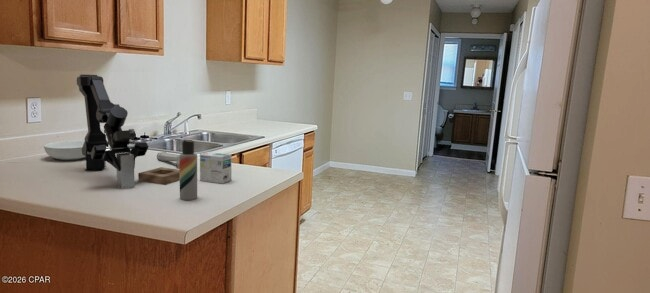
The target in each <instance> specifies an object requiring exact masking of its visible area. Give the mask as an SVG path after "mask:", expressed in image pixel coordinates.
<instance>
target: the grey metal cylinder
mask: <svg viewBox="0 0 650 293" xmlns="http://www.w3.org/2000/svg"><path fill="white" fill-rule="evenodd" d="M179 155H180V154H177V153H176V154H175V153H170V152H167V151H162V152H158V153H157V155H156V159H157V160H158V161H161V162H175V164H176V167H177V169H179Z"/></svg>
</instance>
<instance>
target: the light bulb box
mask: <svg viewBox="0 0 650 293" xmlns="http://www.w3.org/2000/svg"><path fill="white" fill-rule="evenodd" d="M199 181H200V182H201V181H202V182H209V183H216V184H223V185H224V183H227V182H231V181H232V154H230V153H229V154H228V153H221V152H211V151H208V152H204V153H200V154H199Z"/></svg>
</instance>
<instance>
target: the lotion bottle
mask: <svg viewBox="0 0 650 293" xmlns="http://www.w3.org/2000/svg"><path fill="white" fill-rule="evenodd" d="M181 146H182V147H181V148H182V153H180V154H178V155H179V168H178V170H180V180H179V199H180V200H183V201H193V200H196V199H197V198H198V154H197V153H196V152H195V141H194V140H192V139H183V140H182V141H181Z"/></svg>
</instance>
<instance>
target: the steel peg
mask: <svg viewBox="0 0 650 293" xmlns="http://www.w3.org/2000/svg"><path fill="white" fill-rule="evenodd" d="M115 155H116V158H117V160H118V163H119V165H120V169H121V170H120V171H118V170H117V169H116V184H117V186H116V187H118V188H119V189H121V190H123V189H130V188H132V189H133V188H135V168H134V155H133V154H131V153H119V154H115Z"/></svg>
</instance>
